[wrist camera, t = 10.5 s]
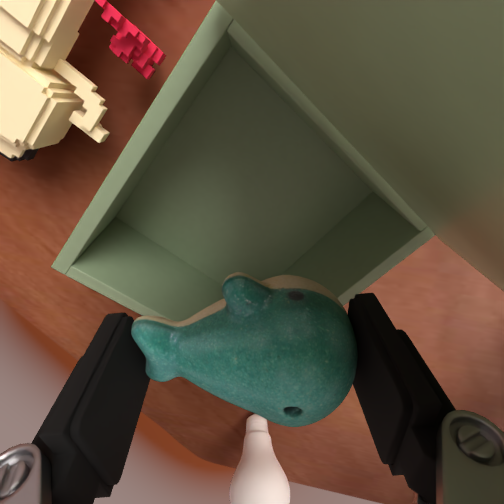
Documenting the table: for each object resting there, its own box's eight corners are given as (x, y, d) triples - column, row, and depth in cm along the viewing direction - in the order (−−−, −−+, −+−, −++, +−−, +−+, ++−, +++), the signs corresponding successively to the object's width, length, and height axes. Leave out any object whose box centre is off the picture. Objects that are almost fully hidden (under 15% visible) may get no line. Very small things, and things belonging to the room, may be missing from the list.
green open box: (251, 306, 27) (253, 375, 21) (104, 213, 22) (50, 267, 16) (383, 186, 22) (441, 230, 15) (229, 23, 16) (222, -10, 10)
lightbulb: (222, 418, 36) (215, 536, 27) (251, 393, 34) (255, 514, 25) (260, 432, 39) (266, 548, 29) (290, 410, 36) (308, 528, 27)
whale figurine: (331, 362, 13) (362, 462, 9) (162, 372, 13) (135, 475, 9) (349, 246, 10) (404, 333, 6) (127, 258, 10) (69, 351, 6)
